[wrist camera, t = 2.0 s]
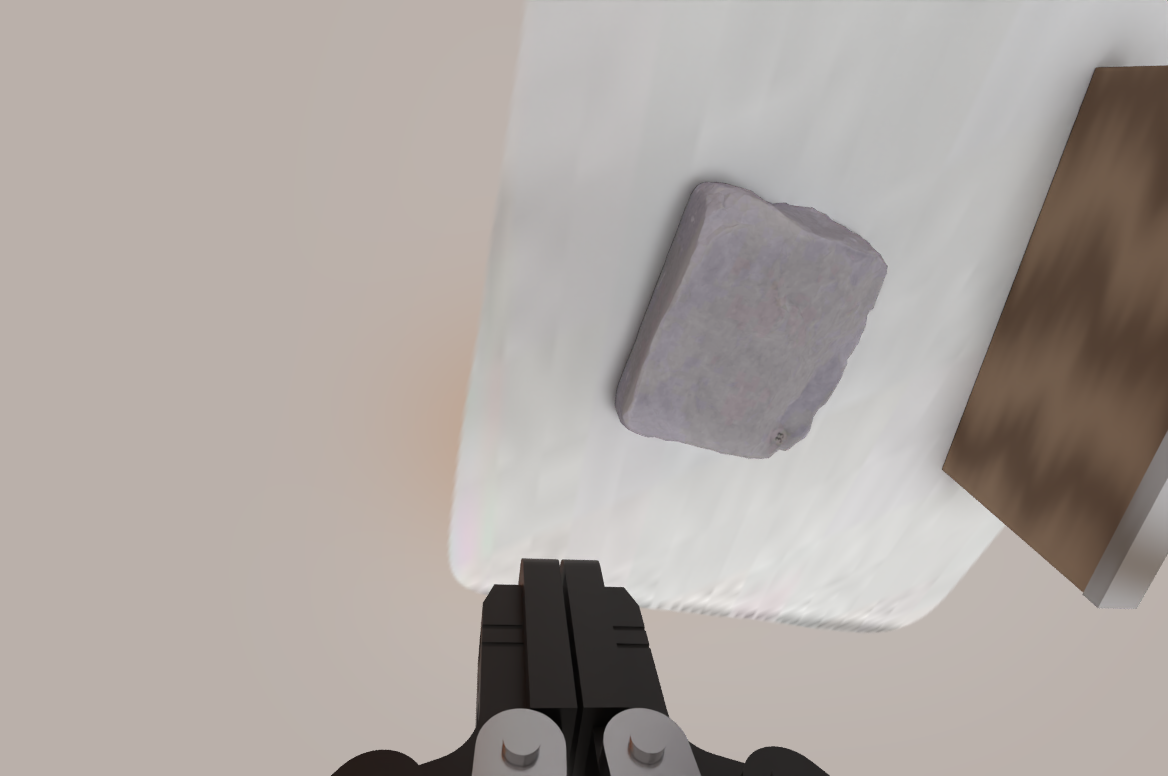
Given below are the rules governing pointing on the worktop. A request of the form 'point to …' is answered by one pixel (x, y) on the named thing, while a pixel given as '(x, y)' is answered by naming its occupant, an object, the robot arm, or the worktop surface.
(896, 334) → the worktop surface
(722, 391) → the stone block
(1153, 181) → the walnut wall board
